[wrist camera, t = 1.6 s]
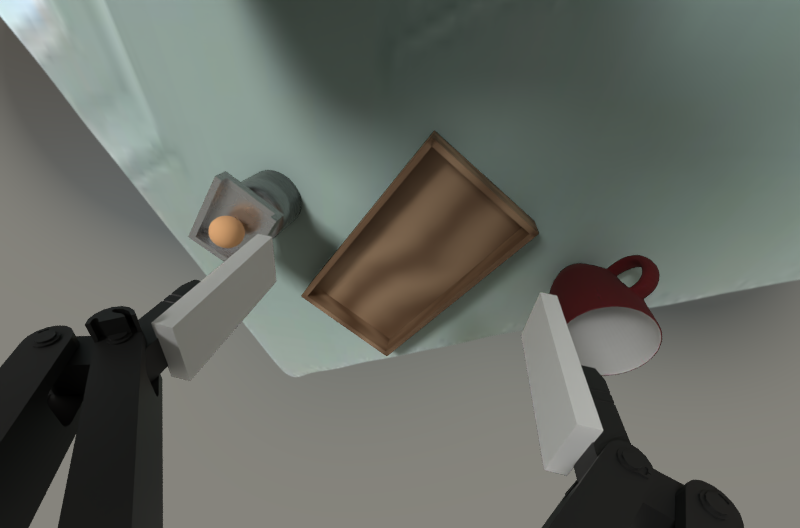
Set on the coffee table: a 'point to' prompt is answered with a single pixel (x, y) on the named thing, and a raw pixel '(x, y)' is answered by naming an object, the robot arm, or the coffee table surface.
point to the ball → (226, 231)
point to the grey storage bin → (247, 207)
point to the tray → (419, 248)
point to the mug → (609, 314)
